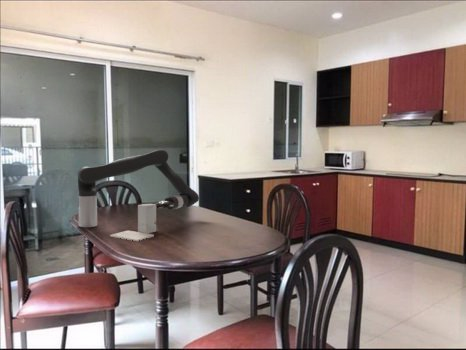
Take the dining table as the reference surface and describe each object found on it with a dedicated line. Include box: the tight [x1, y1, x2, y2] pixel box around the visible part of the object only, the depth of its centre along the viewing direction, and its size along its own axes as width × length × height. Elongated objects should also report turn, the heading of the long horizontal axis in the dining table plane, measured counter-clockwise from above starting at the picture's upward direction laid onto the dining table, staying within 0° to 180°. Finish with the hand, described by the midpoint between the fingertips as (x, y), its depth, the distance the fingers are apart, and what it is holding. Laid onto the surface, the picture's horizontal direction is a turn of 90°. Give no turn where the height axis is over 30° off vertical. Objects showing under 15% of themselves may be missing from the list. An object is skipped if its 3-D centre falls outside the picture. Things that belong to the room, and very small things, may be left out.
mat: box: [109, 230, 155, 242], centre depth 189 cm, size 18×12×1 cm, turn 61°
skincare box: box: [137, 203, 157, 234], centre depth 198 cm, size 8×6×15 cm
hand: (153, 206), depth 202 cm, fingers closed
